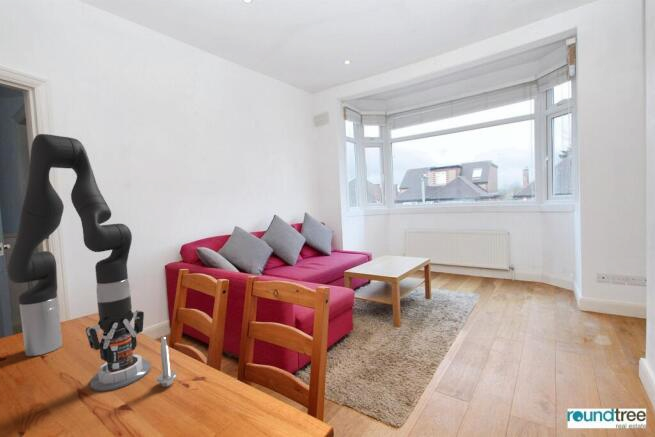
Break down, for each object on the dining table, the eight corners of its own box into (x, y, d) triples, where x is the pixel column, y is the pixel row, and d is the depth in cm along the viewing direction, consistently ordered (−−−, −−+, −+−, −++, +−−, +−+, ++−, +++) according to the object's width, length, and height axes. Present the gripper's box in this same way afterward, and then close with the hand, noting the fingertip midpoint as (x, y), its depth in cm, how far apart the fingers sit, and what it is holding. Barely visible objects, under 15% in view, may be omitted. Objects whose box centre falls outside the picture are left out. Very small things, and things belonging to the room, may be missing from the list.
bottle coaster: (80, 382, 82) (78, 371, 82) (133, 357, 94) (132, 347, 94) (107, 397, 75) (106, 384, 75) (161, 368, 88) (160, 357, 87)
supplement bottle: (120, 374, 81) (116, 333, 80) (102, 372, 82) (98, 332, 82) (138, 362, 87) (135, 324, 86) (121, 360, 88) (117, 323, 87)
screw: (164, 378, 82) (181, 378, 82) (152, 389, 78) (170, 389, 77) (160, 332, 81) (177, 332, 81) (148, 340, 77) (166, 340, 76)
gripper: (133, 287, 91) (138, 341, 93) (76, 303, 79) (82, 364, 80) (148, 290, 88) (153, 346, 89) (90, 307, 75) (97, 371, 76)
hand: (119, 354), depth 85 cm, fingers closed on supplement bottle, 6 cm apart
